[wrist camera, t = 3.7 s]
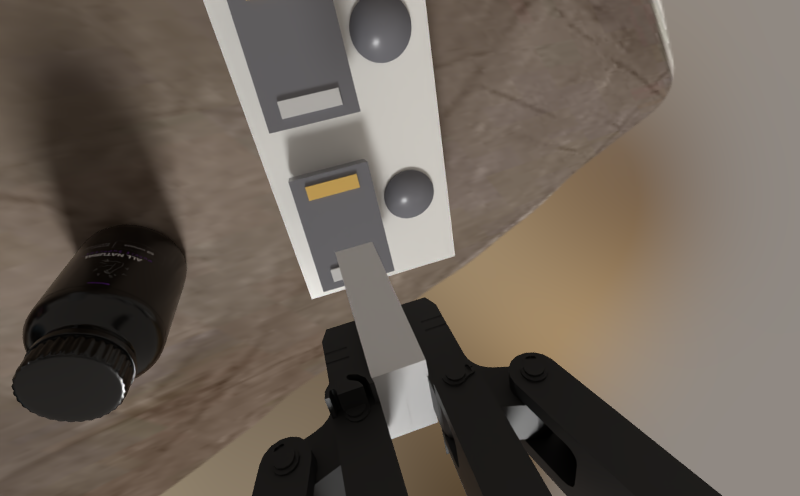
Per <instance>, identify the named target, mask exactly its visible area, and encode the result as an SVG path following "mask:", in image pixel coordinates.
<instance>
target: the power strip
mask: <svg viewBox="0 0 800 496" xmlns="http://www.w3.org/2000/svg"><path fill="white" fill-rule="evenodd" d="M203 1H204V4H205V7H206V10H207V12H208V15H209V18H210V21H211V23H212V26H213V29H214V32H215V34H216V37H217V40H218V42H219V45H220V48H221V51H222V53H223V56H224V59H225V62H226V64H227V67H228V70H229V73H230V75H231V78H232V81H233V84H234V86H235V89H236V92H237V95H238V97H239V100H240V103H241V106H242V108H243V111H244V114H245V117H246V119H247V122H248V125H249V128H250V130H251V133H252V136H253V139H254V141H255V144H256V147H257V150H258V152H259V155H260V158H261V161H262V163H263V166H264V169H265V172H266V174H267V177H268V180H269V183H270V185H271V188H272V191H273V193H274V196H275V199H276V202H277V204H278V207H279V210H280V213H281V215H282V218H283V221H284V224H285V226H286V229H287V232H288V235H289V237H290V240H291V243H292V246H293V248H294V251H295V254H296V257H297V259H298V262H299V265H300V268H301V270H302V273H303V276H304V279H305V281H306V284H307V287H308V290H309V292H310V295H311V298H312V299H314V298H318V297H321V296H324V295H328V294H331V293H334V292H338V291H341V290H344V289H345V286H343V287H339V288H336V289H333V290H329V291H326V292H323V289H322V286H321V283H320V279H319V276H318V273H317V270H316V267H315V264H314V261H313V258H312V254H311V251H310V248H309V245H308V242H307V239H306V236H305V233H304V230H303V226H302V223H301V220H300V217H299V214H298V211H297V208H296V205H295V201H294V198H293V195H292V192H291V189H290V186H289V183H288V181H289V178H292V177H295V176H299V175H303V174H307V173H311V172H315V171H318V170H322V169H326V168H330V167H334V166H338V165H341V164H345V163H349V162H353V161H357V160H361V159H365V160H366V161H367V162H368V166H369V170H370V174H371V178H372V182H373V186H374V190H375V194H376V198H377V202H378V206H379V210H380V214H381V218H382V222H383V226H384V230H385V234H386V238H387V242H388V246H389V250H390V254H391V258H392V262H393V266H394V270H395V271H392V272H389V273H387V276H390V275H394V274H397V273H400V272H404V271H407V270H410V269H413V268H417V267H420V266H423V265H427V264H430V263H433V262H437V261H440V260H443V259H446V258H450V257H453V256H455V252H454V243H453V235H452V226H451V218H450V209H449V200H448V192H447V183H446V174H445V166H444V157H443V149H442V140H441V131H440V123H439V114H438V106H437V97H436V88H435V80H434V71H433V63H432V54H431V45H430V37H429V28H428V20H427V11H426V2H425V0H333V2H334V6H335V10H336V14H337V18H338V22H339V26H340V30H341V34H342V38H343V42H344V46H345V50H346V54H347V58H348V62H349V66H350V70H351V74H352V78H353V82H354V86H355V90H356V94H357V98H358V102H359V106H360V110H361V111H360V112H357V113H353V114H349V115H345V116H341V117H337V118H333V119H329V120H325V121H321V122H317V123H312V124H308V125H304V126H300V127H296V128H292V129H288V130H284V131H280V132H276V133H271V134H269V131H268V128H267V125H266V122H265V119H264V115H263V112H262V109H261V106H260V103H259V100H258V97H257V94H256V90H255V87H254V84H253V81H252V78H251V75H250V72H249V69H248V65H247V62H246V59H245V56H244V53H243V50H242V47H241V44H240V40H239V37H238V34H237V31H236V28H235V25H234V22H233V19H232V15H231V12H230V9H229V6H228V3H227V0H203Z"/></svg>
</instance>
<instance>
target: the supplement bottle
mask: <svg viewBox="0 0 800 496" xmlns="http://www.w3.org/2000/svg"><path fill="white" fill-rule="evenodd" d="M186 273H187V267H186V262H185V259H184V256H183V254H182V252H181V251H180V249H179V248H178V247H177V246H176V244H175V243H174V242H172V241H171V240H170V239H169V238H168V237H166V236H165V235H163V234H161V233H159V232H157V231H155V230H152V229H149V228H146V227H142V226H135V225H119V226H113V227H109V228H106V229H104V230H101V231H99V232H97V233H96V234H94V235H93V236H91V237H90V238H89V239H88V240H87V241H86V242H85V243H84V244H83V245H82V247H81V248H80V249H79V250H78V251H77V253H76V254H75V255H74V257H73V258H72V259H71V260H70V262H69V263H68V264H67V266H66V267H65V268H64V269H63V271H62V272H61V273H60V274H59V276H58V277H57V278H56V280H55V281H54V282H53V283H52V285H51V286H50V287H49V289H48V290H47V291H46V292H45V294H44V295H43V296H42V297H41V299H40V300H39V301H38V303H37V304H36V305H35V307H34V308H33V309H32V311H31V312H30V314H29V315H28V317H27V319H26V321H25V324H24V327H23V344H24V347H25V350H26V352H27V353H26V355H25V357H24V360H23V361H22V363H21V364H20V366H19V367H18V369H17V370H16V373H15V375H14V377H13V379H12V381H13V384H12V389H13V390H14V392H13V394H14V395H15V396H16V397H17V401H18V402H20V403H21V404H22V406H23V407H24V408H27V409H28V410H29V411H30V412H32V413H35V414H37V415H38V416H41V417H46V418H48V419H50V420H57V421H67V422H75V421H78V422H82V421H85V420H93V419H95V418H101V417H102V416H104V415H106V414H109V413H110V412H111V411H113V410H115V409H116V408H117V407H118V405H120V404H121V403H122V402H123V400H124V398H125V397H126V395H127V393H128V390H129V387H130V385H131V384H132V383H133V381H134V379H135V378H137V377H139V376H140V375H142V374H143V373H145V372H146V371H147V370H149V369H150V368H151V367H152V366H153V365H154V364H155V363H156V361H157V360H158V359H159V357H160V355H161V353H162V351H163V349H164V346H165V343H166V340H167V337H168V334H169V330H170V327H171V324H172V321H173V318H174V315H175V312H176V308H177V305H178V302H179V299H180V296H181V293H182V290H183V286H184V283H185V279H186Z"/></svg>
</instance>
